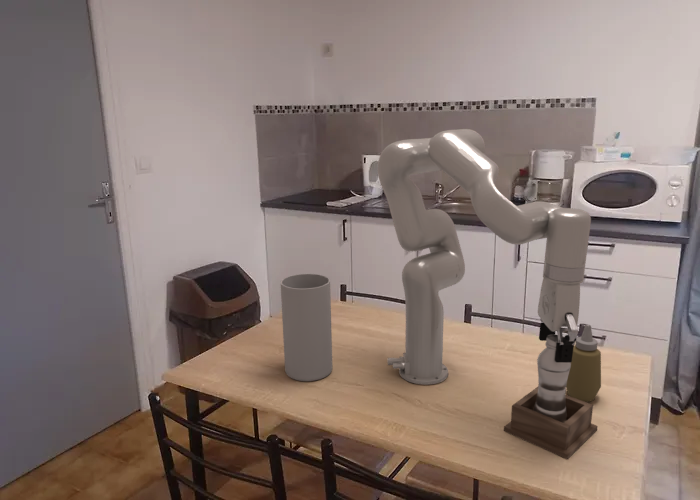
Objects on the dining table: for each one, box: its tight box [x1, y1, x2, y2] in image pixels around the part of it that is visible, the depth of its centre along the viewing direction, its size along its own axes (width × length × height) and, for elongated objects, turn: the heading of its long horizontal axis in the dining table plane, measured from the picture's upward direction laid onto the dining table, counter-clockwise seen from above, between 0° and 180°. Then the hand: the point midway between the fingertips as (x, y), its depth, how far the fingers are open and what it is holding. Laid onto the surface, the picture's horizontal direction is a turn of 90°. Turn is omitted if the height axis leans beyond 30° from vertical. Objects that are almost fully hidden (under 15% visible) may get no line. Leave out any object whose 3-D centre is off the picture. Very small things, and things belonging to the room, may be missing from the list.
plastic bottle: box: [533, 334, 571, 423], centre depth 115 cm, size 6×7×20 cm
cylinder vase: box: [280, 273, 333, 382], centre depth 142 cm, size 12×12×25 cm
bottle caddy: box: [503, 386, 598, 460], centre depth 116 cm, size 14×14×6 cm
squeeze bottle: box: [566, 324, 602, 403], centre depth 128 cm, size 8×8×18 cm
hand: (554, 350), depth 113 cm, fingers open, 9 cm apart
